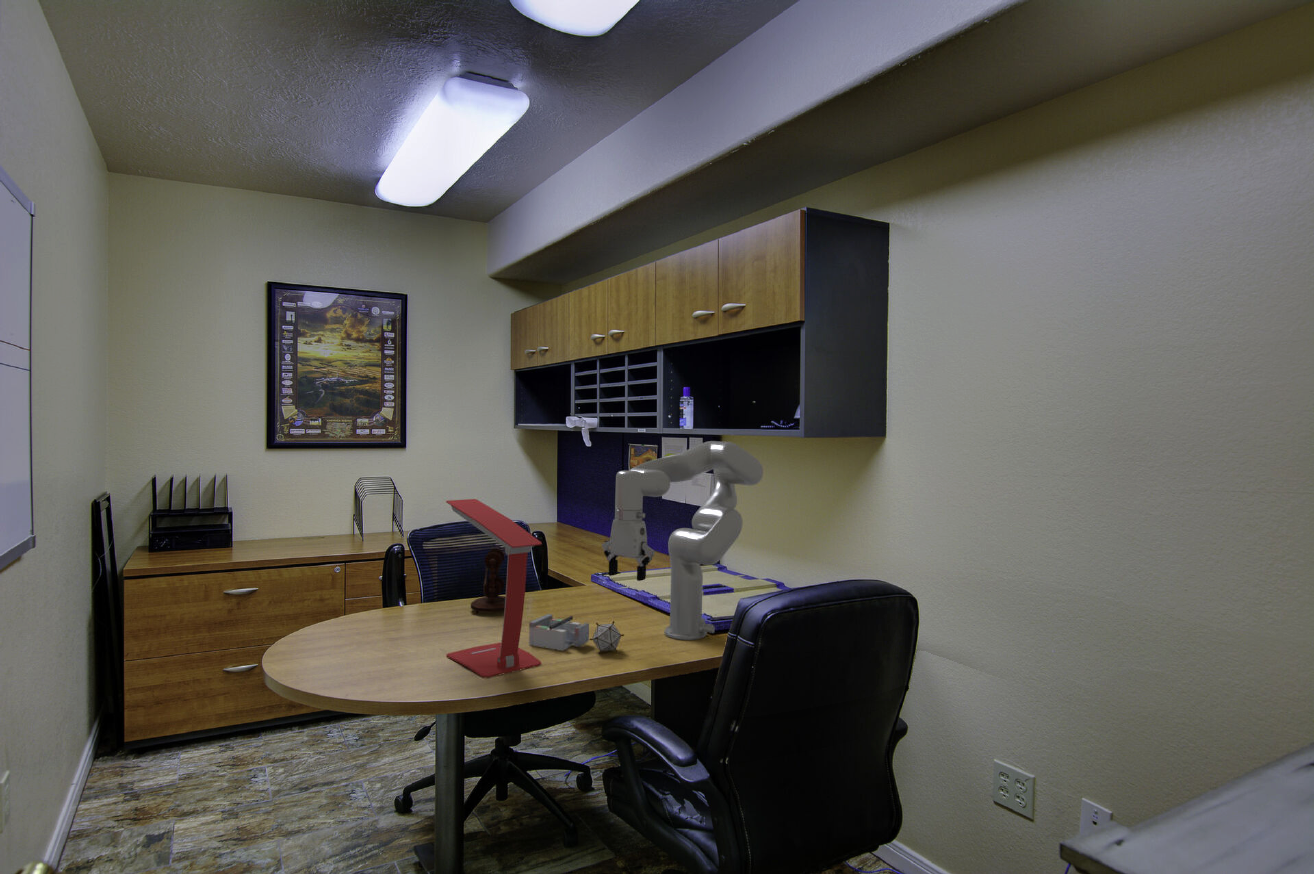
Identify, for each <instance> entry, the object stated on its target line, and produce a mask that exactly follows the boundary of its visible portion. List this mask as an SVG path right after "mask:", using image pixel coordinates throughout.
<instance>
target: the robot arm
mask: <svg viewBox="0 0 1314 874" xmlns="http://www.w3.org/2000/svg"><path fill="white" fill-rule="evenodd" d="M712 470H713V478H714V480H713V481H714V482H713V483H714V486H713V490H712V493H711V494H710V495H709V497H708V498H707V499H706V500H705V502H704V503H703V504H702V505H701V506H700V507H699V509H697V510H696V512H695V514H694V515H693V517H692V519H691V526H692V528H691V527H690V528H688V527H682V528H677V529H675V530H673V531H672V533H671V534H670V536H669V538H668V543H667V546H668V547H667V549H668V555H669V561H670V598H669V599H670V600H669V601H670V604H669V605H670V606H669V607H670V609H669V613H670V614H669V626H666V627H665V629H664V635H665V636H667V637H669V638H671V639H675V640H682V641H693V640H699V639H704V638H705V637H706V636H707V633H710V634H714V633H715V630H716V627H715V626H714V624H710V623H706V618H703V617H702V616H703V581H704V575H703V570H702V567H701V565H705V566H712V565H713V566H714V565H715V564H717V563H718V562H719V561H720V560H721V559H722V558H723V557H724V555H726V553H727V552H728V551H729V549H730V548H732V546H733V544H734V543H735V542H736V541H737V539H738V537H740V534H741V532H742V528H743V517H742V515H741V513H740V512H739V511H738V510H737V509H736V506H737V505H738V497H737V491H736V486H735V485H741V486H750V487H751V486H755V485H757V484H758V483H760V482H761V480H762V479H763V475H764V468H763V465H762V463H761V462H760V460H759V459H758V458H756V457H755V456H754V455H752V454H751V453H750V452H748V451H747V450H746V449H744V448H742V447H741V446H739V445H738V444H737V443H735V442H734V443H733V442H731V441H720V440H719V441H717V440H710V441H705V442H702V443H700V444H698V445H695V446H694V447H691V448H689V449H686V450H684V451H681V452H680V453H676V454H671V455H668V456H663V457H660V458H657V459H652V460H649V461H646V462H643V463H640V464H639V465H636V466H634V467H631V469H629V470H619V471H618V472H617V473H616V475H615V497H614V498H615V499H614V507H615V508H614V519H613V520H612V524H611V530H610V538H609V540H607V541H606V542H603V543H602V544H601V547H602V550H603V554H604V555H605V557H606V561H607V562H608V576H609V577H613V576H616V575H618V573H619V572H618V566H619V561H618V557H622V558H628V559H635V560H636V562H637V564H638V565H637V567H636V581H638V582H641V581H644V580H646V576H647V566H648V565H649V564H650V562H651V561H652V559H653V557H654V555H655V553H656V552H655V550H654V549H653V548H651V547H650V546H649V545H648V534H647V533H648V532H647V527H646V522H645V520H643V519H645V517H646V513H645V512H643V503H644V502H643V499H644V498H643V497H653V498H658V497H662V496H664V495H666V494H667V493H668V491H669V490H670V487H671V483H679V482H680V483H681V482H686V481H687V482H688V481H691V480H694V479H695V478H697V477H700V476H701V475H703V474H705V473H707V472H710V471H712Z"/></svg>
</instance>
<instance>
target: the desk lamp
mask: <svg viewBox="0 0 1314 874" xmlns="http://www.w3.org/2000/svg"><path fill="white" fill-rule="evenodd" d="M445 502H446V503H447V504H448V505H450V506H451V507H450V508H451V509H452V511H453V512H454V513H455V514H457V515H458V516H460V517H461V518H462V519H463V520H465V521H467V522H468V523H469V524H470V525H472V526H473V527H475V528H477V529H478V530H479V531H481V532H482V533H484V534H485V535H487V536H488V537H489V538H491V539H493V540H494V541H496V542H497V543H498V544H499V545H501V546H503V547H505V549H504V552H505V554H506V555H507V567H506V585H505V596H506V598H505V610H504V611H503V623H502V632H501V640H500V642H497V643H491V644H490V643H489V644H484V645H479V646H473V647H470V648H466V649H465V648H464V649H461V650H457V651H453V652H448V653H446V658H448V657H449V659H450V660H452V661H454V662H456V663H458V664H460V665H462V666H464V667H465V668H468V669H469V670H471V671H472V672H474V673H476V674H477V675H478V676H480V677H481V678H484V677H489V678H492V677H491V676H493V677H495V676H494V675H498V676H500V675H499V674H502V673H506V674H509V673H508V672H510V673H513V672H512V671H515V672H517V670H519V671H521V670H520V669H523V668H527V669H531V668H530V667H532V668H534V667H533V666H536V667H539V665H540V664H541V665H542V662H541V660H540V659H538V658H537V657H535V656H534V655H533V654H531V653H530V652H529V651H526V650H525V649H522V648H520V647H519V644H520V639H521V638H520V637H521V632H522V624H523V616H524V606H525V598H526V597H525V596H526V585H527V584H526V582H527V567H528V553H530V552H531V551H532V548H533V547H535V546H542V545H543V544H542V541H541V540H539V539H538V538H537V537H534V536H533V534H531V533H529V532H528V531H526V529H525V528H523V527H522V526H520V525H518V524H517V523H516V522H515V521H513V520H512V519H511V518H509V517H507V516H506V515H504V514H502V513H500V512H499V511H498V510H496V509H493V508H492V507H490V506H489V505H487V504H486V503H484V502H482V501H480V500H479V499H476V498H469V499H453V500H452V499H450V500H446V501H445ZM541 665H540V666H541ZM523 670H524V669H523ZM502 675H503V674H502Z"/></svg>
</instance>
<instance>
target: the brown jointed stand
mask: <svg viewBox="0 0 1314 874" xmlns="http://www.w3.org/2000/svg"><path fill="white" fill-rule="evenodd" d="M504 560H505V553H504V552H503V550H502V549H500V548H497V547H495V548H492V549H490V550H489V551H488V553H487V554H486V555H485V557H484V560H483V561H484V565H485V575H484V581H483V588H482V589H483V591H482V592H483V595H484V596H482V597H479V598H477V599H475V600H473V601H472V602H471V603H470V609H471V610H473V611H474V612H475V615H476V614H478V615H479V613H480V612H482V613H499V612H504V610H505V598H506V595H501V593H502V590H503V588H504V586H505V582H504V580H503V579H502V577H501V576H499V575H498V574H499V572H500V567H501V565H502V563H503V562H504ZM488 571H489V572H490V573H489V576H488ZM488 577H489V578H488ZM487 578H488V580H487Z"/></svg>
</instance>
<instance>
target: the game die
mask: <svg viewBox="0 0 1314 874" xmlns="http://www.w3.org/2000/svg"><path fill="white" fill-rule="evenodd" d="M615 623H616V622H615V620H613V621H612V623H603V624H602V623H601V624H599V623H598V622H595V624H596V628H595V631H594V633H593V636H592V638H589V641H590V642H591V641H592V642H593V643H594V644H595V646H596V647H597V649H598V650H599V651H598V655H601V653H602V652H610V651H615V653H618V649H617V648H618V645H619V643H620V640H621V638H622V637H624V636H625V634H621V633H620V631H619V630H618V628H617V627H616V625H615Z"/></svg>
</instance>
